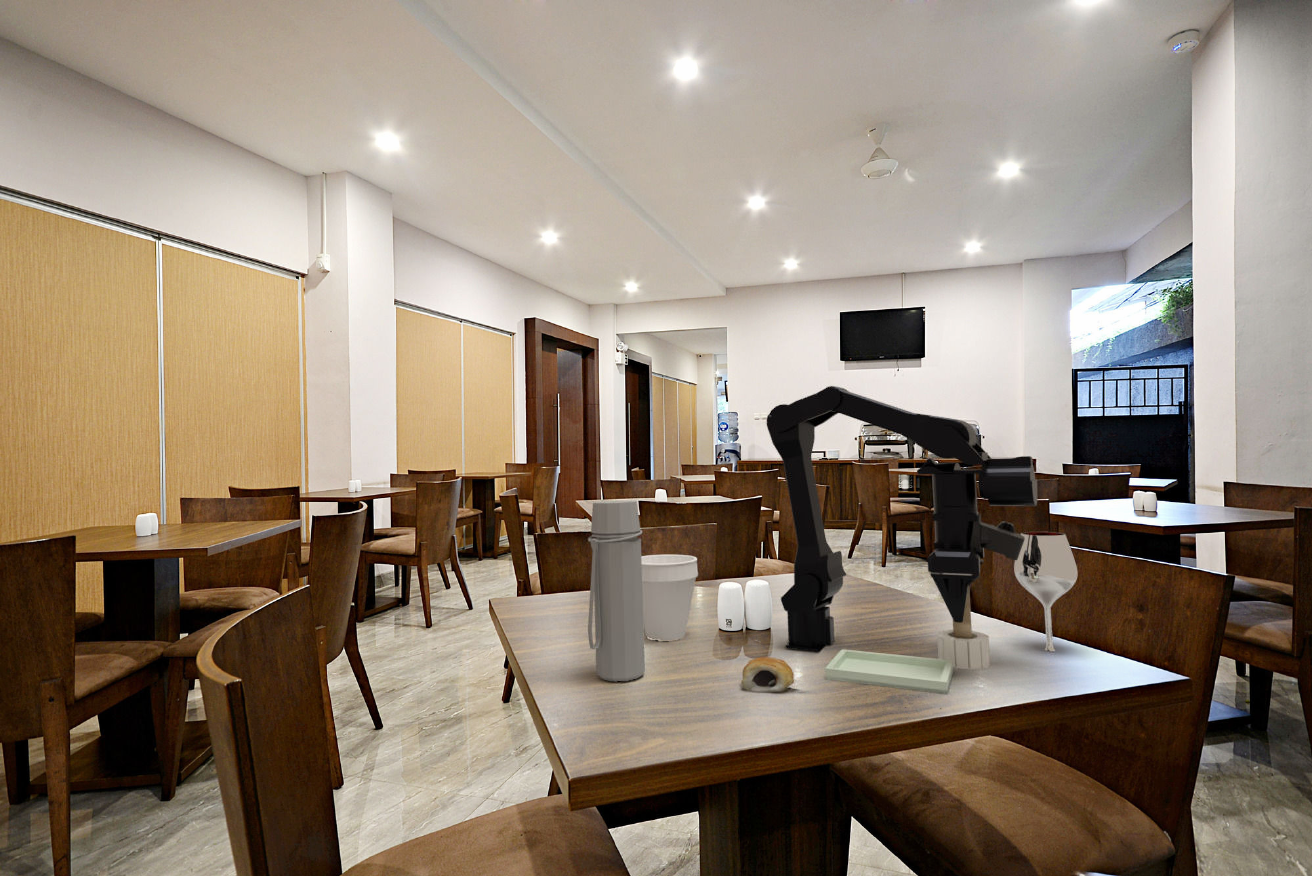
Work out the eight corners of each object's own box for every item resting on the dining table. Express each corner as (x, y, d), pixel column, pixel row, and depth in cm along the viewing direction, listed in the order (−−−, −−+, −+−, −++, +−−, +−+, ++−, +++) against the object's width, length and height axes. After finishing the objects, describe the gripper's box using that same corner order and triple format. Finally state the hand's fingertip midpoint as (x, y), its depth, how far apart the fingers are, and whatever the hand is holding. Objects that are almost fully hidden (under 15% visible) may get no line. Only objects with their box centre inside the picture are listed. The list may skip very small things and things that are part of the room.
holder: (937, 671, 92) (935, 638, 92) (941, 658, 98) (939, 627, 98) (989, 676, 89) (987, 643, 89) (991, 663, 95) (989, 631, 95)
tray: (825, 684, 88) (824, 668, 88) (842, 664, 97) (841, 649, 97) (947, 700, 81) (946, 682, 81) (954, 676, 90) (953, 660, 90)
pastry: (749, 671, 96) (748, 645, 96) (797, 674, 94) (796, 647, 94) (740, 693, 86) (739, 664, 87) (792, 696, 85) (791, 666, 85)
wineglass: (1093, 663, 93) (1084, 536, 94) (1030, 662, 95) (1022, 536, 96) (1069, 648, 101) (1061, 530, 102) (1011, 647, 103) (1004, 531, 104)
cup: (637, 628, 123) (634, 554, 124) (702, 628, 122) (700, 553, 122) (624, 645, 111) (622, 564, 112) (697, 646, 109) (694, 563, 110)
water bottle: (621, 664, 100) (617, 500, 101) (658, 674, 95) (652, 500, 96) (573, 679, 94) (568, 503, 95) (609, 691, 88) (604, 504, 89)
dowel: (954, 662, 93) (950, 584, 94) (955, 658, 95) (951, 581, 96) (972, 664, 92) (968, 585, 93) (973, 660, 94) (969, 582, 95)
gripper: (1019, 510, 83) (1026, 635, 82) (1018, 501, 99) (1024, 606, 98) (924, 510, 88) (930, 628, 87) (938, 501, 104) (943, 601, 104)
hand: (960, 615), depth 94 cm, fingers open, 9 cm apart
